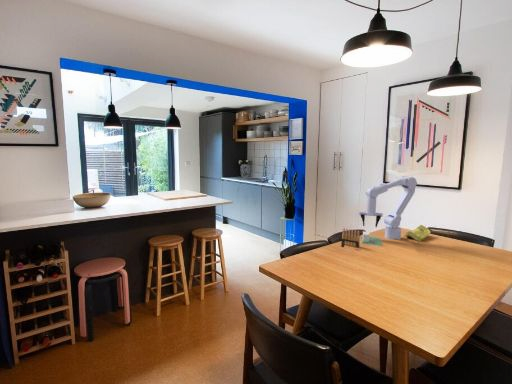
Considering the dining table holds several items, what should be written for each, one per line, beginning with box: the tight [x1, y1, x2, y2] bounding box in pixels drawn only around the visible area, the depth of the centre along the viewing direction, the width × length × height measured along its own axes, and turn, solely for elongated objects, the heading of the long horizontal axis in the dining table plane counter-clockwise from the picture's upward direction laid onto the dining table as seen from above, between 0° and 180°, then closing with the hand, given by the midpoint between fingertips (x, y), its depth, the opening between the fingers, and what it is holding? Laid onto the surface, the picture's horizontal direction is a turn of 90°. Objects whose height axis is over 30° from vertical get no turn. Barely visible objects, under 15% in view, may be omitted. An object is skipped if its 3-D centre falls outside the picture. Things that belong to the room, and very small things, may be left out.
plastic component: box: [403, 224, 432, 242], centre depth 202 cm, size 20×7×10 cm
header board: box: [360, 235, 384, 247], centre depth 187 cm, size 12×18×4 cm, turn 162°
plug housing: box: [362, 231, 370, 242], centre depth 187 cm, size 4×7×5 cm, turn 162°
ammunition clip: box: [340, 227, 361, 251], centre depth 177 cm, size 11×2×12 cm, turn 55°
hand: (369, 226), depth 193 cm, fingers open, 7 cm apart
